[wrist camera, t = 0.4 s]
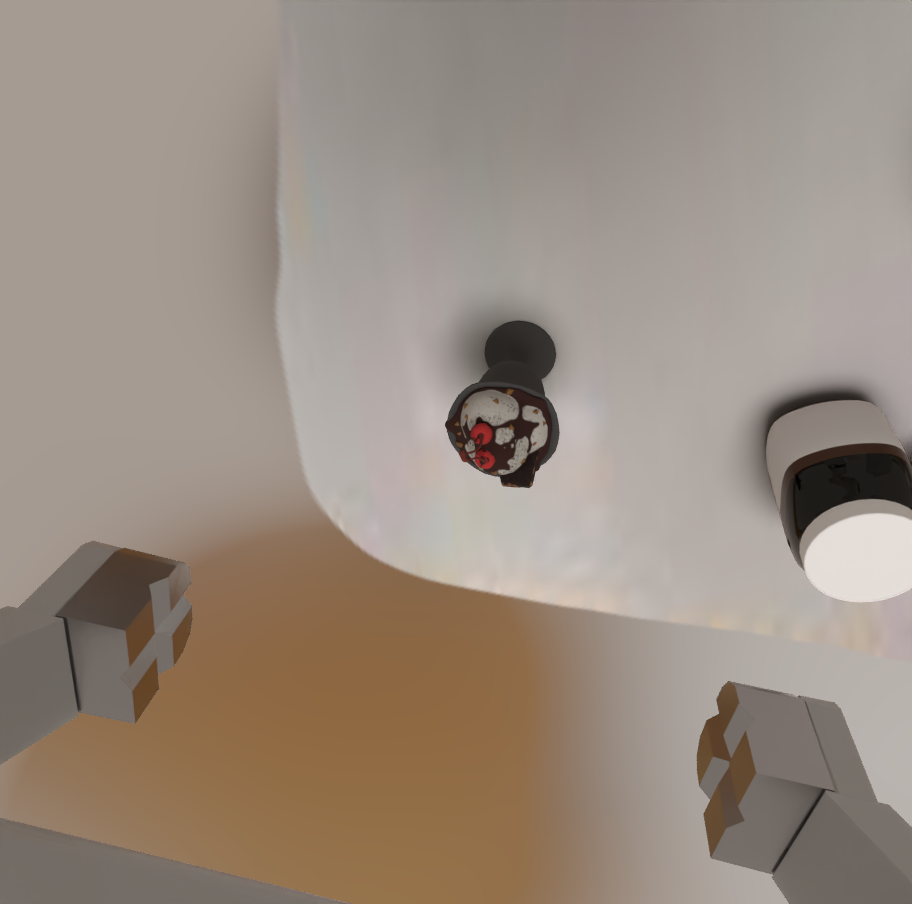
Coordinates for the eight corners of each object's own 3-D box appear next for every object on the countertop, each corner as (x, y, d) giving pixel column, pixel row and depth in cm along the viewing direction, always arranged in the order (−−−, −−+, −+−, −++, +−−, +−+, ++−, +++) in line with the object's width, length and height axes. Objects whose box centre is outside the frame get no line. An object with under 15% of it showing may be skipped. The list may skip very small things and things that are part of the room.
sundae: (478, 301, 50) (434, 416, 38) (576, 318, 49) (564, 441, 37) (466, 385, 54) (423, 514, 42) (558, 402, 53) (541, 538, 41)
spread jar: (754, 397, 50) (786, 502, 41) (944, 361, 47) (1027, 467, 37) (774, 530, 56) (806, 649, 47) (944, 507, 53) (1016, 631, 43)
